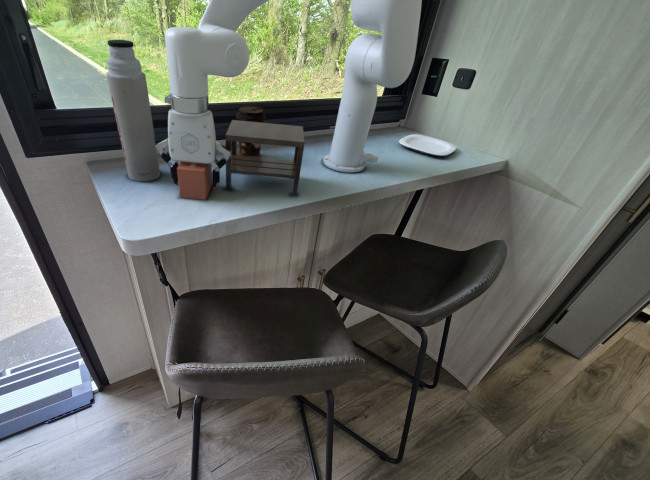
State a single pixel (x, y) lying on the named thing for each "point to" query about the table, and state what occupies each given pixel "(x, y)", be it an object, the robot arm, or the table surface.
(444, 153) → the plate
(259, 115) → the coffee cup
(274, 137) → the slatted side table
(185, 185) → the tissue box
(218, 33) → the robot arm
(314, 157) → the table surface
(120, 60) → the thermos bottle
